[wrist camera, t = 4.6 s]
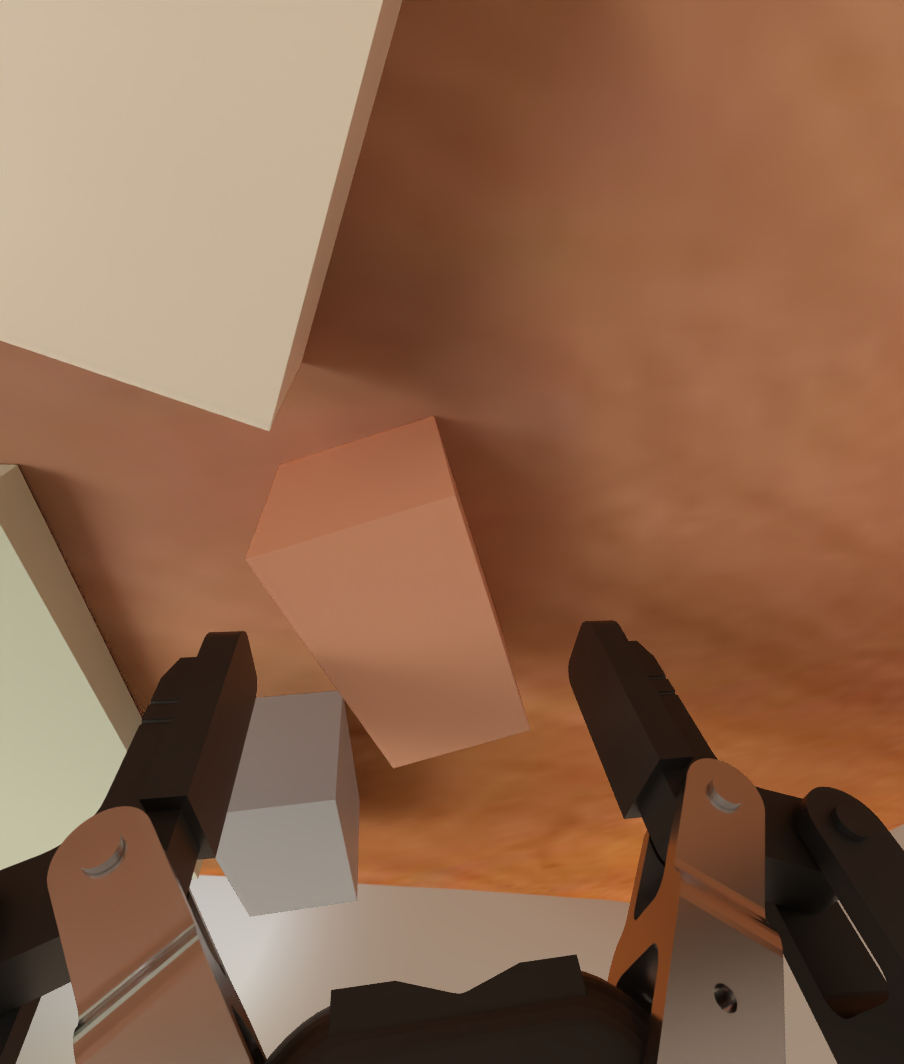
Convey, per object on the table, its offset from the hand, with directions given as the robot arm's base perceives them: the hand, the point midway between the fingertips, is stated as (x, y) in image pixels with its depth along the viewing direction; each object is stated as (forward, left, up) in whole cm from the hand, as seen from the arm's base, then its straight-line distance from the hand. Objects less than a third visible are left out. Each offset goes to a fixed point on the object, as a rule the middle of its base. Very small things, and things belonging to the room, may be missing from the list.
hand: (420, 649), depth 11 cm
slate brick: (+10, -4, -3) cm, 11 cm away
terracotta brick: (0, 0, -3) cm, 3 cm away
